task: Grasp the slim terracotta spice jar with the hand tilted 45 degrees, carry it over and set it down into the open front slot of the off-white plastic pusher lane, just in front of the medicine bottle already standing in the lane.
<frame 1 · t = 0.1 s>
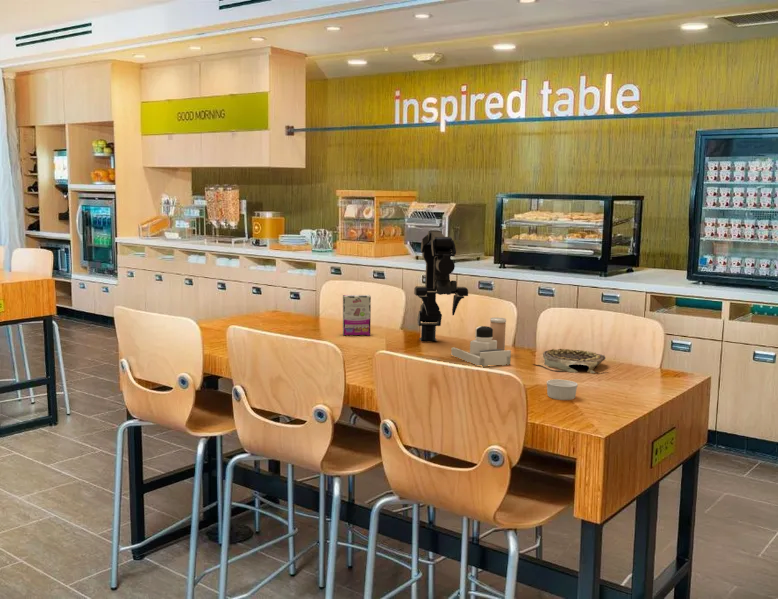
hand: (440, 315, 283), 15 cm above the table, tool pointing down, fingers open, 9 cm apart
ramekin: (561, 397, 229), on the table
candy bar box: (356, 335, 322), on the table
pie: (574, 367, 273), on the table
spice jar: (496, 353, 290), on the table
medicine bottle: (482, 361, 276), resting in lane
lane: (471, 356, 283), on the table
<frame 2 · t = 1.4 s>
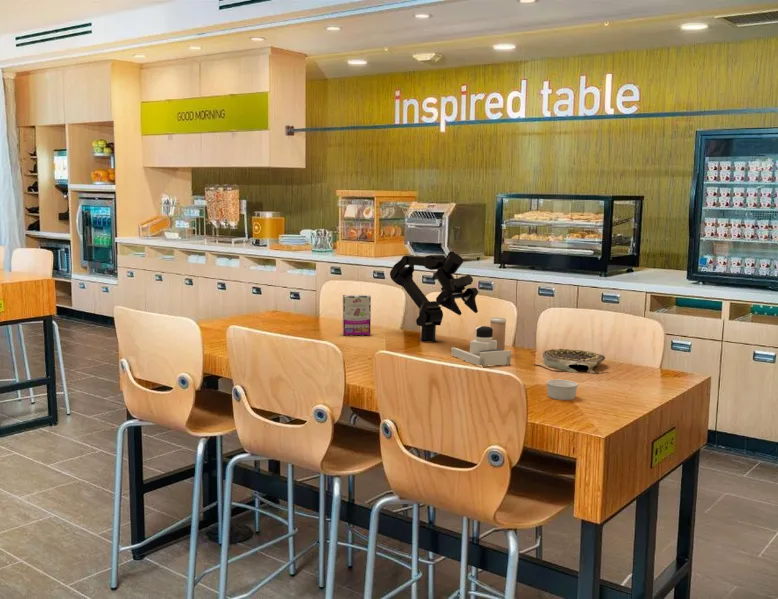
hand: (468, 313, 294), 14 cm above the table, tool tilted 45°, fingers open, 9 cm apart
nothing on the table moved.
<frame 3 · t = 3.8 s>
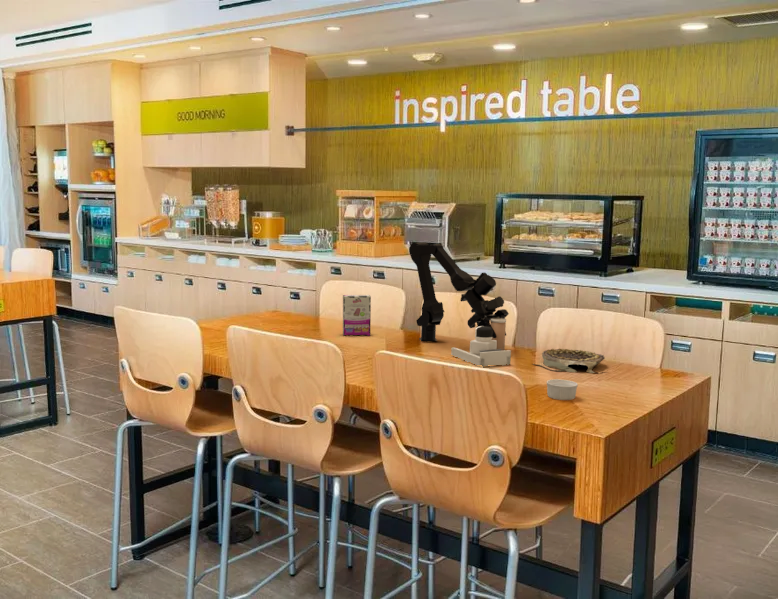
hand: (500, 336, 288), 7 cm above the table, tool tilted 45°, fingers closed on spice jar, 5 cm apart
spice jar: (496, 353, 290), on the table, touching gripper
everything else where it was.
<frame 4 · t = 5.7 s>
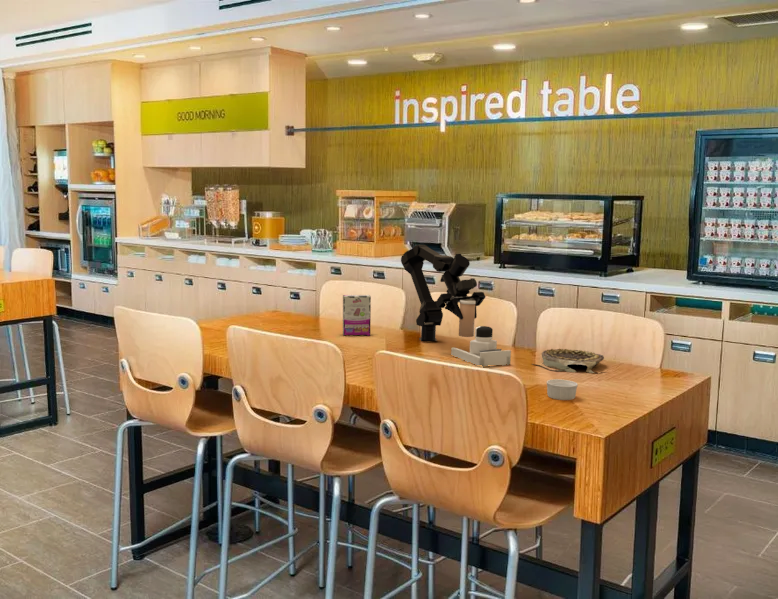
hand: (469, 318, 286), 13 cm above the table, tool tilted 45°, fingers closed on spice jar, 5 cm apart
spice jar: (466, 335, 289), point 7 cm above the table, touching gripper
everything else where it was.
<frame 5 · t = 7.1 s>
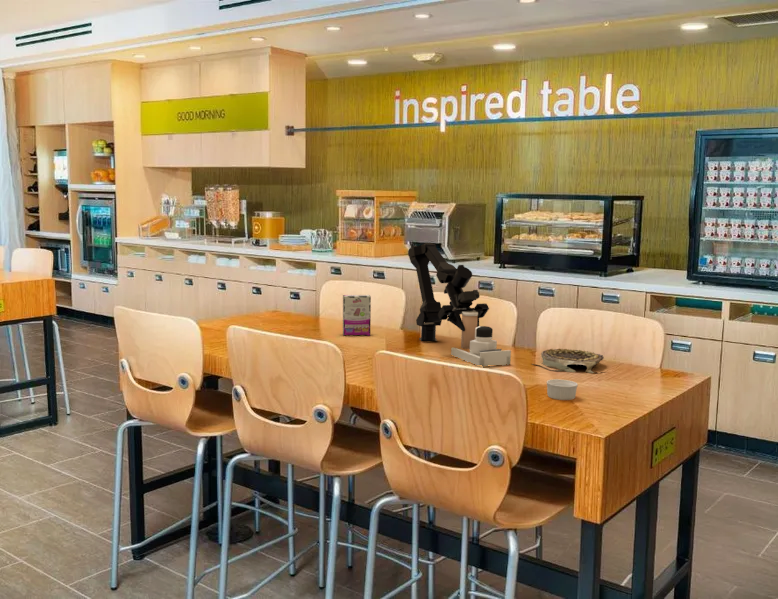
hand: (471, 330, 282), 10 cm above the table, tool tilted 45°, fingers closed on spice jar, 5 cm apart
spice jar: (468, 347, 284), point 3 cm above the table, touching gripper
everything else where it was.
when the fingers open (8 cm above the table, at t = 8.0 s): spice jar drops 1 cm, resting in lane.
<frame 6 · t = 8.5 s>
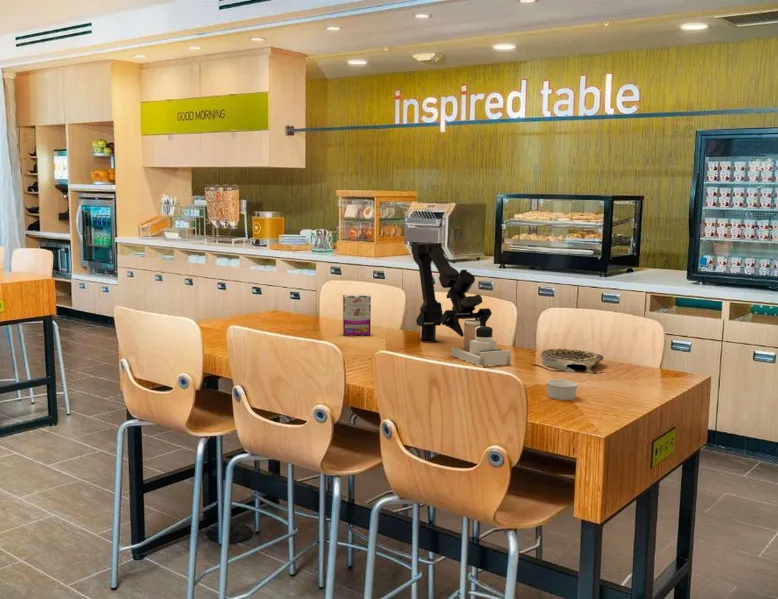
hand: (474, 335, 281), 8 cm above the table, tool tilted 45°, fingers open, 9 cm apart
spice jar: (471, 356, 283), resting in lane
everything else where it was.
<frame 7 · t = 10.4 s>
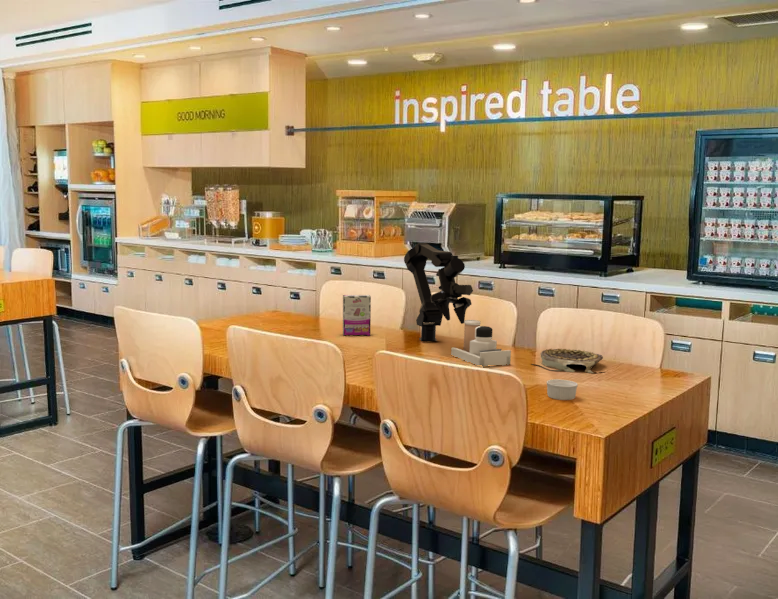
hand: (455, 321, 290), 11 cm above the table, tool tilted 30°, fingers open, 9 cm apart
nothing on the table moved.
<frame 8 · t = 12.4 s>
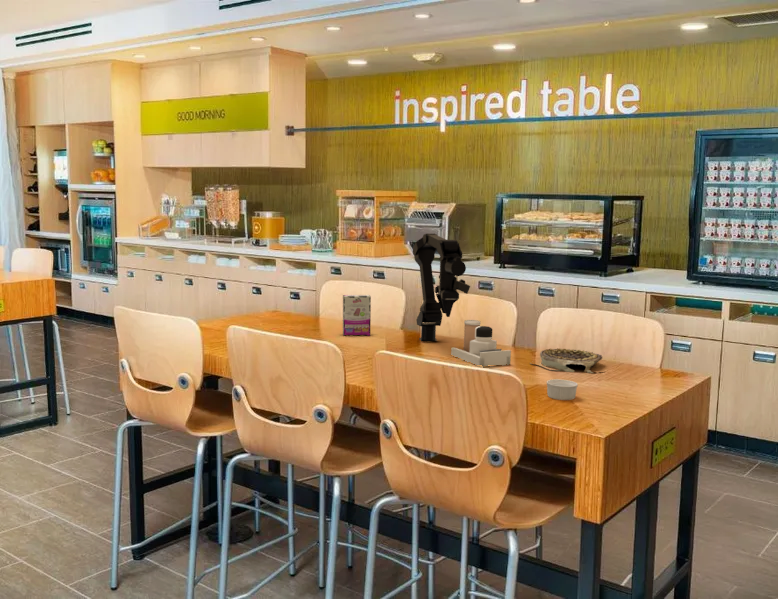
hand: (446, 315, 295), 13 cm above the table, tool pointing down, fingers open, 9 cm apart
at the end: spice jar inside the target area on the lane (0.2 cm from its centre), point 0.0 cm above the lane's base; spice jar tilted 0°; the gripper is holding nothing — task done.
